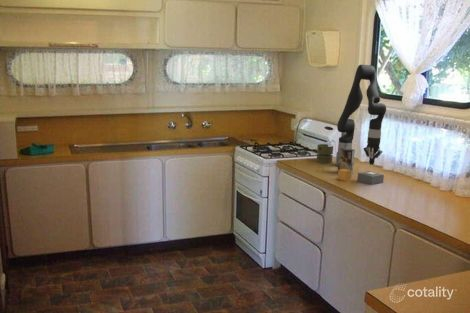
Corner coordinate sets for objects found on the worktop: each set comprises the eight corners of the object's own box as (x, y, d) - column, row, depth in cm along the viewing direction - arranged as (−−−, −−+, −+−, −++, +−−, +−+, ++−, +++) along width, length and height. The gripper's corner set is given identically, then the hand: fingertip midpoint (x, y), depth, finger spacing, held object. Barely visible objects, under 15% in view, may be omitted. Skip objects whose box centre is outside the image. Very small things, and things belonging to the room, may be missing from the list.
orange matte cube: (337, 179, 302) (338, 169, 301) (343, 178, 306) (344, 168, 304) (344, 181, 298) (345, 171, 297) (350, 180, 301) (351, 170, 300)
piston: (326, 143, 359) (336, 146, 349) (325, 159, 361) (335, 162, 352) (314, 144, 353) (324, 147, 344) (313, 160, 356) (323, 163, 346)
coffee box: (353, 173, 319) (355, 149, 316) (350, 175, 314) (352, 150, 311) (339, 171, 323) (341, 147, 320) (337, 173, 318) (338, 149, 315)
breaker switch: (365, 177, 298) (365, 172, 298) (369, 176, 301) (370, 171, 300) (371, 178, 295) (371, 174, 294) (375, 178, 297) (376, 173, 297)
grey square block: (357, 180, 299) (358, 172, 298) (368, 178, 306) (369, 170, 305) (371, 184, 291) (372, 175, 290) (383, 182, 297) (384, 173, 296)
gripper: (387, 137, 290) (384, 165, 293) (369, 134, 300) (366, 161, 304) (379, 138, 285) (376, 167, 289) (361, 135, 296) (358, 162, 299)
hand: (371, 164), depth 296 cm, fingers closed
